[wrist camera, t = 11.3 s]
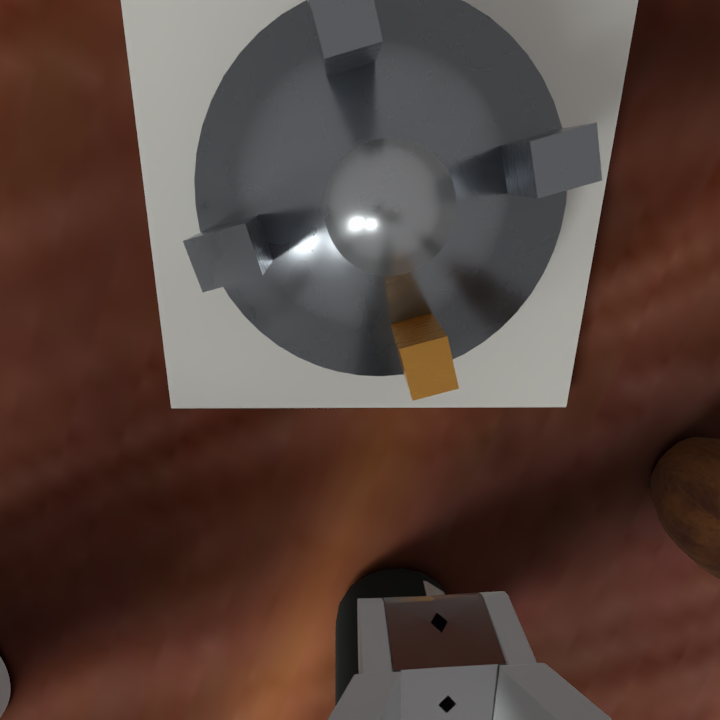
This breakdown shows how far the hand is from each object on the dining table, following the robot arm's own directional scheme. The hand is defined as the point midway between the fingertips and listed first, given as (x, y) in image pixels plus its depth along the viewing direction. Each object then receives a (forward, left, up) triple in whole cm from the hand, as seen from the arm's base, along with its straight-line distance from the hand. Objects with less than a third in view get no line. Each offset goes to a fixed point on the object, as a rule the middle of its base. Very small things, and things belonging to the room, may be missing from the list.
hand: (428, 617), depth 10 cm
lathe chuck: (0, +7, -18) cm, 19 cm away
